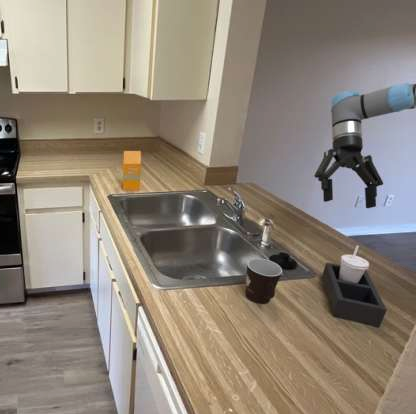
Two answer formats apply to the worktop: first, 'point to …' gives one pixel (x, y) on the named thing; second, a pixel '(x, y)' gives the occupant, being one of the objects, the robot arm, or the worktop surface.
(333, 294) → the cup holder
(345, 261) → the smoothie
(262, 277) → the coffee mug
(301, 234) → the worktop surface
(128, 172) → the orange juice
